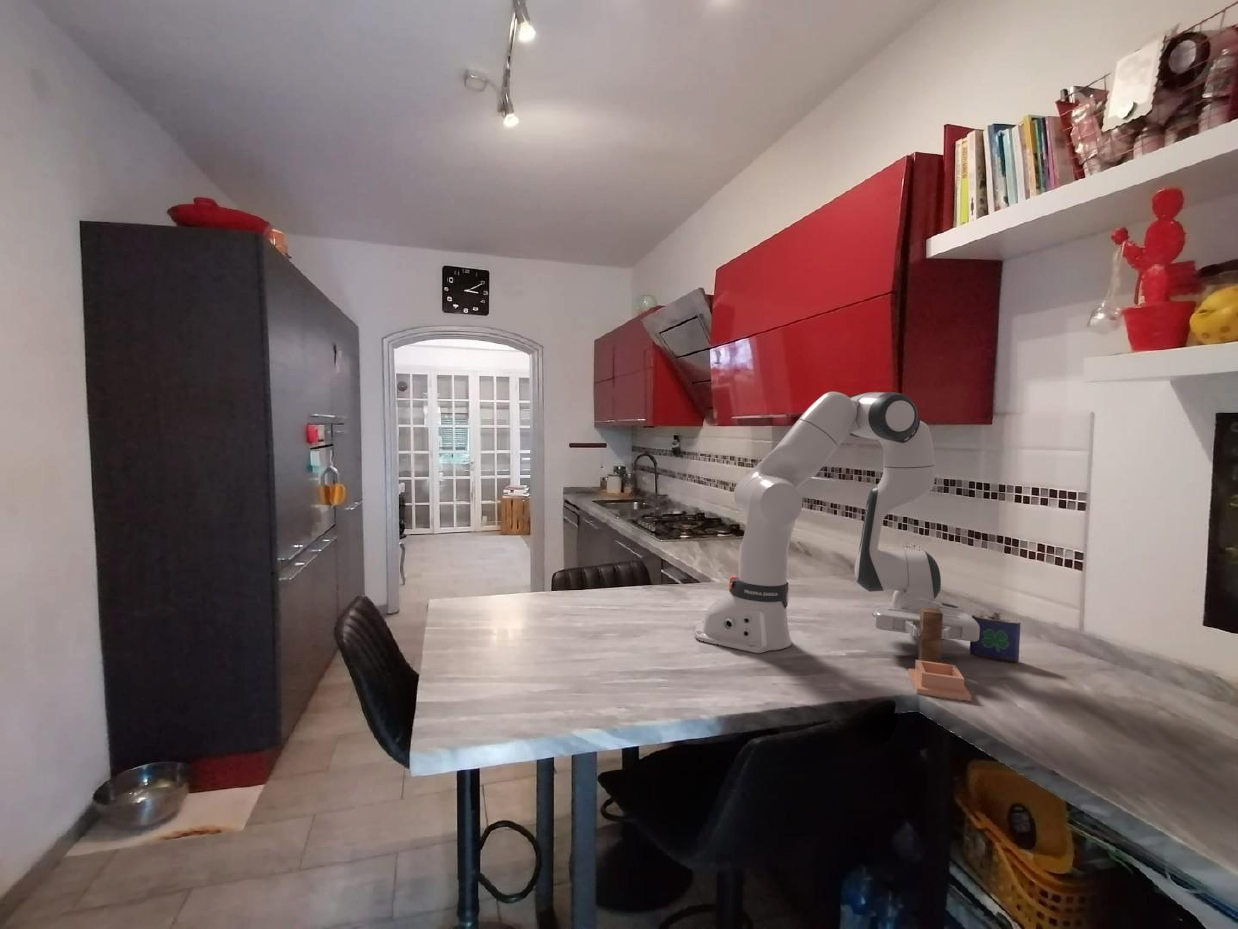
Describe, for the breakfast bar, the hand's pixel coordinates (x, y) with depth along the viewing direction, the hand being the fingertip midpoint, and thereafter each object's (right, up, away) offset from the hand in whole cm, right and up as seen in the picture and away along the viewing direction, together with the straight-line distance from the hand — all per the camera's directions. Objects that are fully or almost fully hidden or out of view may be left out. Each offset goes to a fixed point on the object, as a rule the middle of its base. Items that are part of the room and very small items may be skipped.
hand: (931, 635), depth 117 cm
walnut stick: (0, -7, +1) cm, 7 cm away
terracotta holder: (-3, -8, -7) cm, 11 cm away
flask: (+19, -8, +9) cm, 22 cm away
